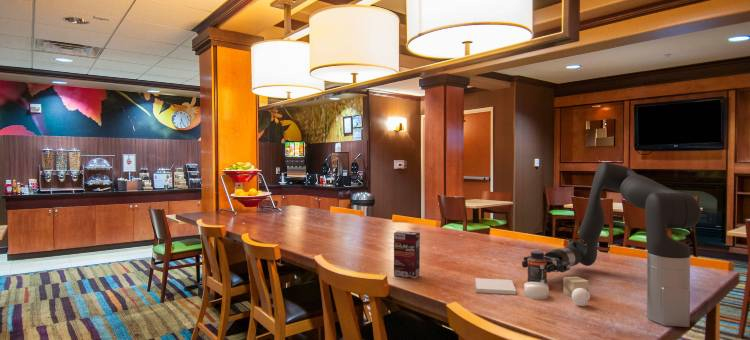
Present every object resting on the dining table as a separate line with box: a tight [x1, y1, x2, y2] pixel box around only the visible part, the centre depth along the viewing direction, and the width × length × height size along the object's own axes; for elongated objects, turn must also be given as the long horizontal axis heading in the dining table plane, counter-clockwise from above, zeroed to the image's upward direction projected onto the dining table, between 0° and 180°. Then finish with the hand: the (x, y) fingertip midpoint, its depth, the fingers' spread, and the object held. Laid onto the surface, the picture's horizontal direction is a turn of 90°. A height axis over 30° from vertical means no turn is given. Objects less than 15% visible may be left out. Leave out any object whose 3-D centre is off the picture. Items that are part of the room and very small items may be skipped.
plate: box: [474, 277, 517, 295], centre depth 141 cm, size 12×12×1 cm
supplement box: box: [393, 230, 421, 279], centre depth 156 cm, size 9×5×16 cm, turn 65°
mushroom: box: [571, 288, 591, 307], centre depth 124 cm, size 5×5×5 cm
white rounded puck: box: [523, 281, 550, 300], centre depth 133 cm, size 7×7×4 cm
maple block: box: [562, 276, 589, 298], centre depth 133 cm, size 5×5×5 cm
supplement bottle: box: [527, 250, 548, 285], centre depth 143 cm, size 6×6×11 cm
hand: (534, 266), depth 142 cm, fingers open, 8 cm apart
